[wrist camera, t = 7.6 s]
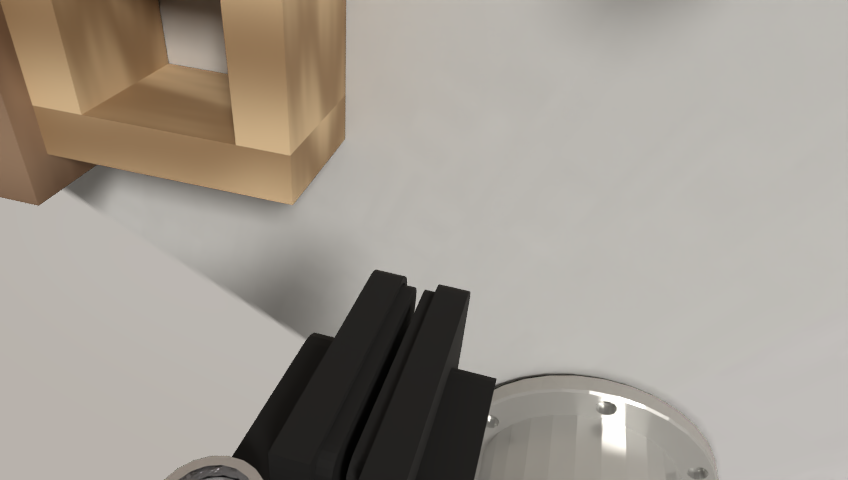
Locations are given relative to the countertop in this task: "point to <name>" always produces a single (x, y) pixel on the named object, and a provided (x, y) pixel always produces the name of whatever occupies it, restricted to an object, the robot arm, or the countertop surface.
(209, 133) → the socket block
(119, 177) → the countertop surface
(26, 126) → the wall
